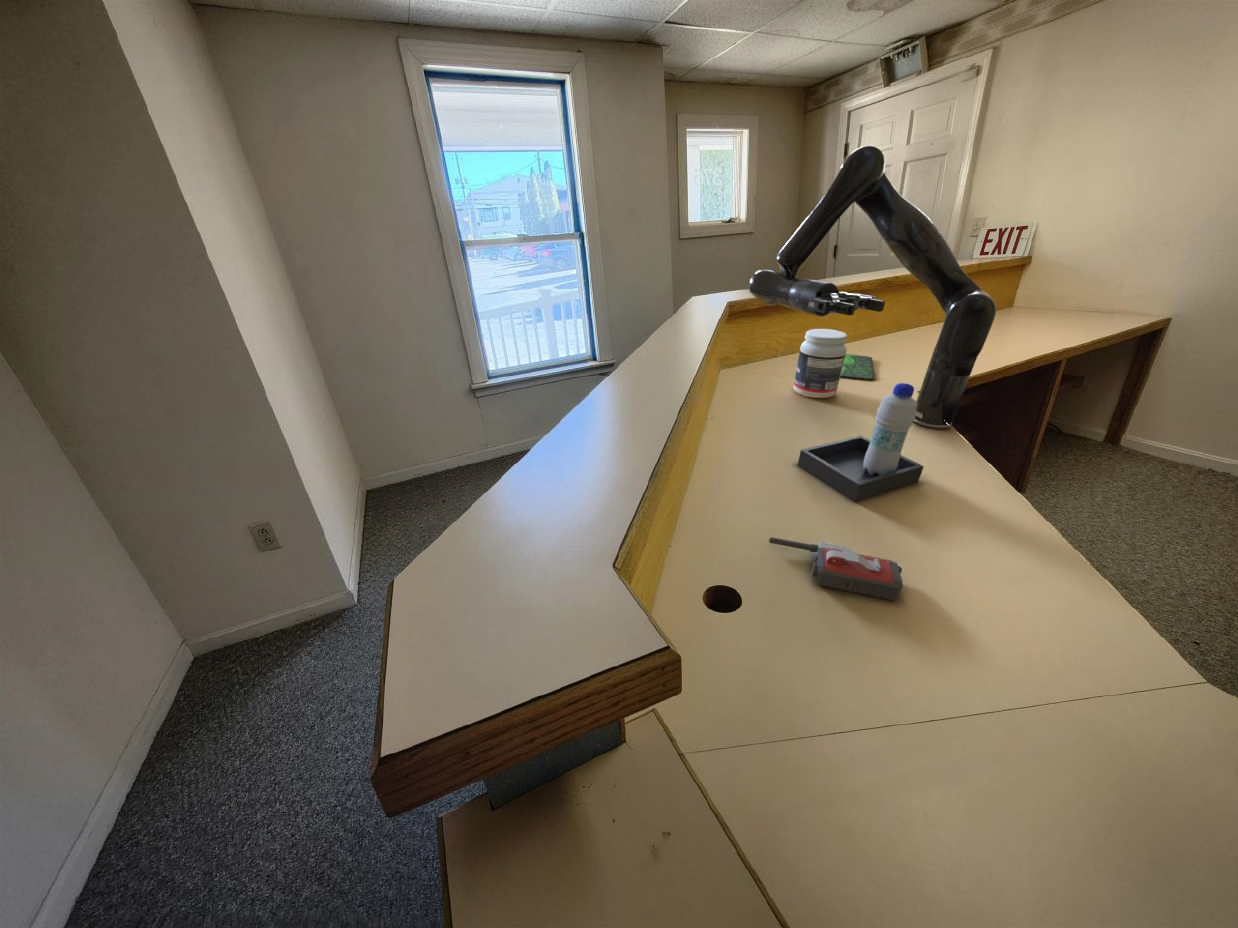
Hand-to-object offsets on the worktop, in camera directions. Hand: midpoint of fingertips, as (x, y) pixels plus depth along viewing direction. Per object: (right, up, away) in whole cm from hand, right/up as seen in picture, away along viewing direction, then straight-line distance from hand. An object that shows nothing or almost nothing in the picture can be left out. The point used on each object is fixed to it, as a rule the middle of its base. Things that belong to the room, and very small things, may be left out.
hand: (868, 308), depth 96 cm
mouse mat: (+27, +3, +69) cm, 74 cm away
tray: (-1, -35, +3) cm, 35 cm away
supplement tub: (+8, -11, +46) cm, 48 cm away
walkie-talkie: (-19, -50, -23) cm, 59 cm away
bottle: (+2, -35, +1) cm, 35 cm away
